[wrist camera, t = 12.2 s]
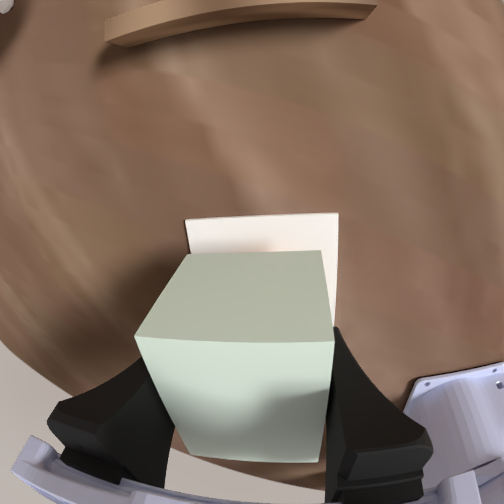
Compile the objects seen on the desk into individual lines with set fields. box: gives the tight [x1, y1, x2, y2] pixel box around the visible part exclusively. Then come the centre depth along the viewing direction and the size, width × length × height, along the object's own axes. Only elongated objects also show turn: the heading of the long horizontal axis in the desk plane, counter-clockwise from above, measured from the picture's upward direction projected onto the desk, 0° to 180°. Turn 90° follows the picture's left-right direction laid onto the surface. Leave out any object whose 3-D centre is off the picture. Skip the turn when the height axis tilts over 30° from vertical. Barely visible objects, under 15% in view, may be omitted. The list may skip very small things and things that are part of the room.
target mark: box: [185, 212, 338, 327], centre depth 18 cm, size 8×8×1 cm
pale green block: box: [134, 250, 335, 463], centre depth 12 cm, size 6×8×6 cm
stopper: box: [104, 0, 377, 48], centre depth 10 cm, size 12×1×2 cm, turn 95°
